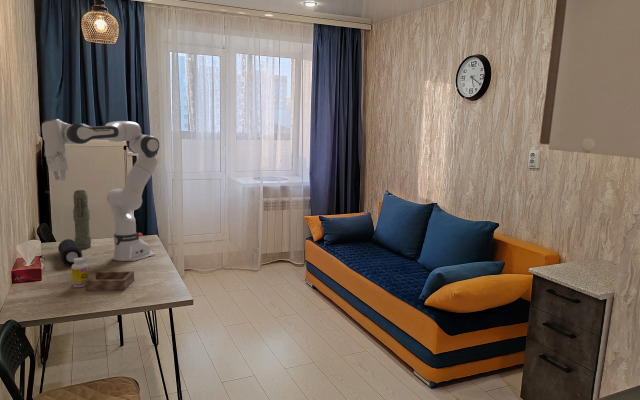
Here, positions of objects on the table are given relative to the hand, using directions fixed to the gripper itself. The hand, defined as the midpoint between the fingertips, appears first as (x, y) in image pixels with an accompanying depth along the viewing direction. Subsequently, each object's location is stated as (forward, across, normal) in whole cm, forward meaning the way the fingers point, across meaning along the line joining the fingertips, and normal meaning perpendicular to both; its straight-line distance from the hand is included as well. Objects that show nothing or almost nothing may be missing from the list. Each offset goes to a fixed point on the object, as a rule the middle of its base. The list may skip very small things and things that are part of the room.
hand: (60, 180), depth 237 cm
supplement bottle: (+49, -23, +5) cm, 54 cm away
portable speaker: (+46, +23, -4) cm, 52 cm away
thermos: (+45, +48, -19) cm, 68 cm away
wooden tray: (+50, -31, -5) cm, 59 cm away
